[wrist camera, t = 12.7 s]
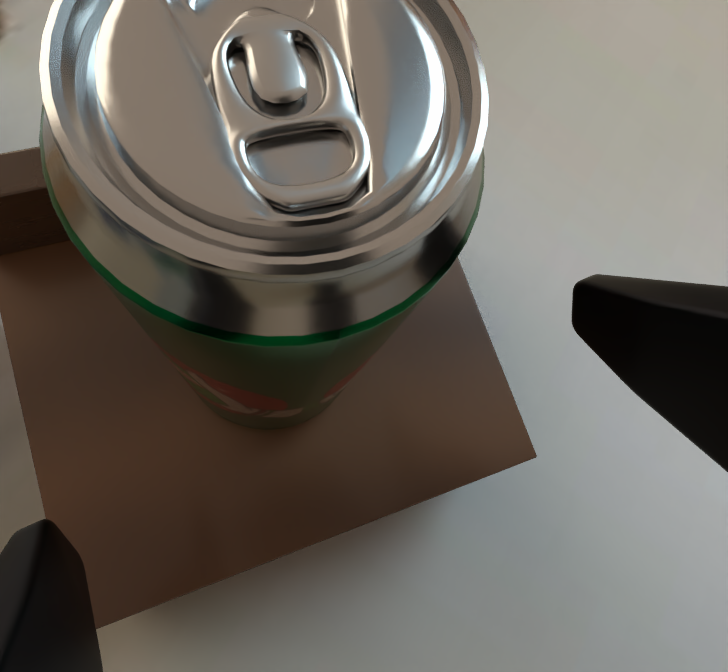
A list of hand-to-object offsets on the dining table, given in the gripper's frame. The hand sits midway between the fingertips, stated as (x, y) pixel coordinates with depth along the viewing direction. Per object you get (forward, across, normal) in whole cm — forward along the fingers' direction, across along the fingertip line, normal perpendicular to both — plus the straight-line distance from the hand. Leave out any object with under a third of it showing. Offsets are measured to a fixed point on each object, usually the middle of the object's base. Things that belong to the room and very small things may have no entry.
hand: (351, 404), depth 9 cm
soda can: (+8, 0, +4) cm, 9 cm away
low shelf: (+11, 0, +6) cm, 13 cm away
